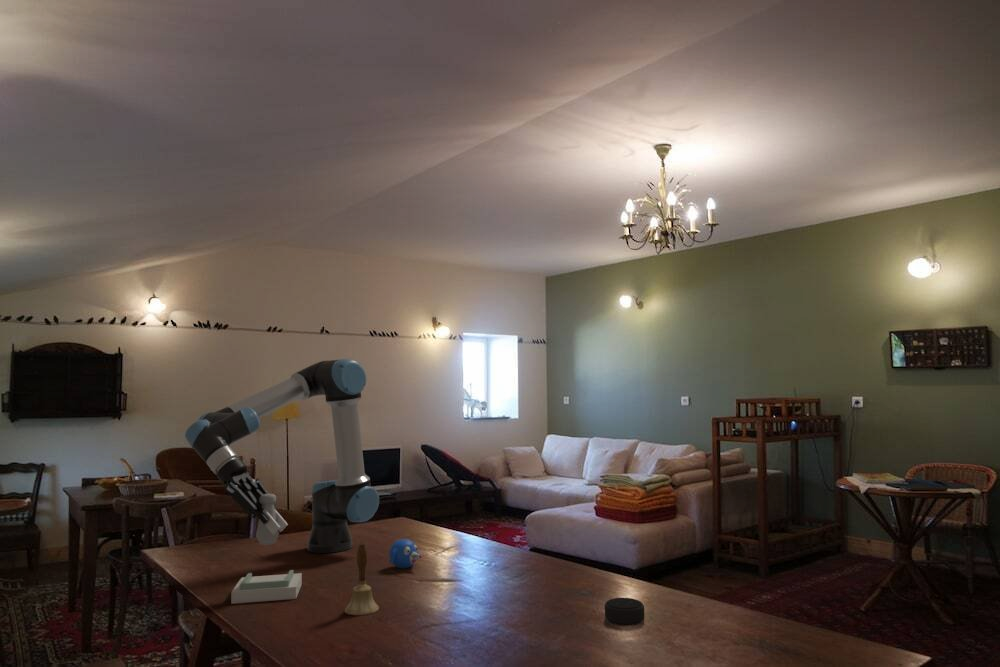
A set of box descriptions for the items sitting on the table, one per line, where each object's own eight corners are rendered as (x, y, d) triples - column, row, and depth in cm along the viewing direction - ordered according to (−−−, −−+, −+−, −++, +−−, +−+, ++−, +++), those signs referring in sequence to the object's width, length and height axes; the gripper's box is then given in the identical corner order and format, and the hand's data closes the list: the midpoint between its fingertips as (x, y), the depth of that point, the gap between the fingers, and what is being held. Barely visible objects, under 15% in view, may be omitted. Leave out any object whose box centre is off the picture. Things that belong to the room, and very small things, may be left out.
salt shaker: (259, 541, 186) (259, 492, 187) (280, 540, 186) (281, 492, 188) (253, 545, 180) (254, 496, 181) (275, 545, 181) (276, 495, 182)
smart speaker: (652, 624, 152) (651, 606, 152) (615, 629, 149) (615, 610, 149) (633, 612, 160) (632, 594, 160) (598, 616, 157) (598, 599, 158)
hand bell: (385, 606, 169) (384, 540, 170) (368, 617, 161) (367, 548, 162) (355, 603, 171) (355, 539, 173) (337, 614, 164) (337, 546, 165)
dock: (301, 584, 191) (301, 567, 191) (296, 598, 177) (296, 581, 177) (241, 588, 188) (241, 571, 188) (231, 603, 174) (231, 585, 174)
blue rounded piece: (407, 575, 196) (407, 546, 197) (379, 570, 204) (379, 541, 204) (436, 566, 206) (435, 538, 207) (408, 561, 213) (407, 534, 214)
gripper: (237, 472, 196) (288, 533, 191) (199, 479, 181) (253, 545, 175) (253, 454, 195) (305, 514, 190) (217, 459, 180) (272, 525, 174)
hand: (280, 529), depth 183 cm, fingers closed on salt shaker, 3 cm apart
